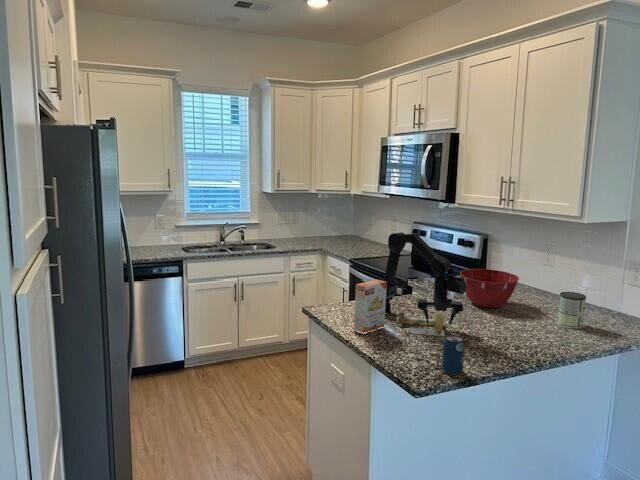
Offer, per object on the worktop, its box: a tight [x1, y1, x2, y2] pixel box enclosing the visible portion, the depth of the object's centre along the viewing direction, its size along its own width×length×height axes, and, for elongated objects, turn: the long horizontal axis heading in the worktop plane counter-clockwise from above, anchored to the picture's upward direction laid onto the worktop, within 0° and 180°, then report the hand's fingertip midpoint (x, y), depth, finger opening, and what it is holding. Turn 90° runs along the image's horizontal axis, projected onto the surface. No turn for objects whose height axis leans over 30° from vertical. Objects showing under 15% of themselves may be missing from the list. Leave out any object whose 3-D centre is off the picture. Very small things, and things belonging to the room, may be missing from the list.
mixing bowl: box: [459, 268, 520, 309], centre depth 239 cm, size 28×28×16 cm
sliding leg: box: [434, 311, 444, 331], centre depth 200 cm, size 3×11×7 cm, turn 169°
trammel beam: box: [396, 310, 444, 328], centre depth 202 cm, size 20×10×6 cm, turn 79°
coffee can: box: [557, 291, 587, 329], centre depth 209 cm, size 10×10×14 cm
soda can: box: [441, 334, 466, 376], centre depth 158 cm, size 7×7×12 cm
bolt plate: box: [408, 326, 446, 338], centre depth 197 cm, size 20×7×1 cm, turn 79°
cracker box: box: [353, 279, 387, 333], centre depth 196 cm, size 14×6×21 cm, turn 134°
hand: (438, 324), depth 200 cm, fingers open, 9 cm apart
